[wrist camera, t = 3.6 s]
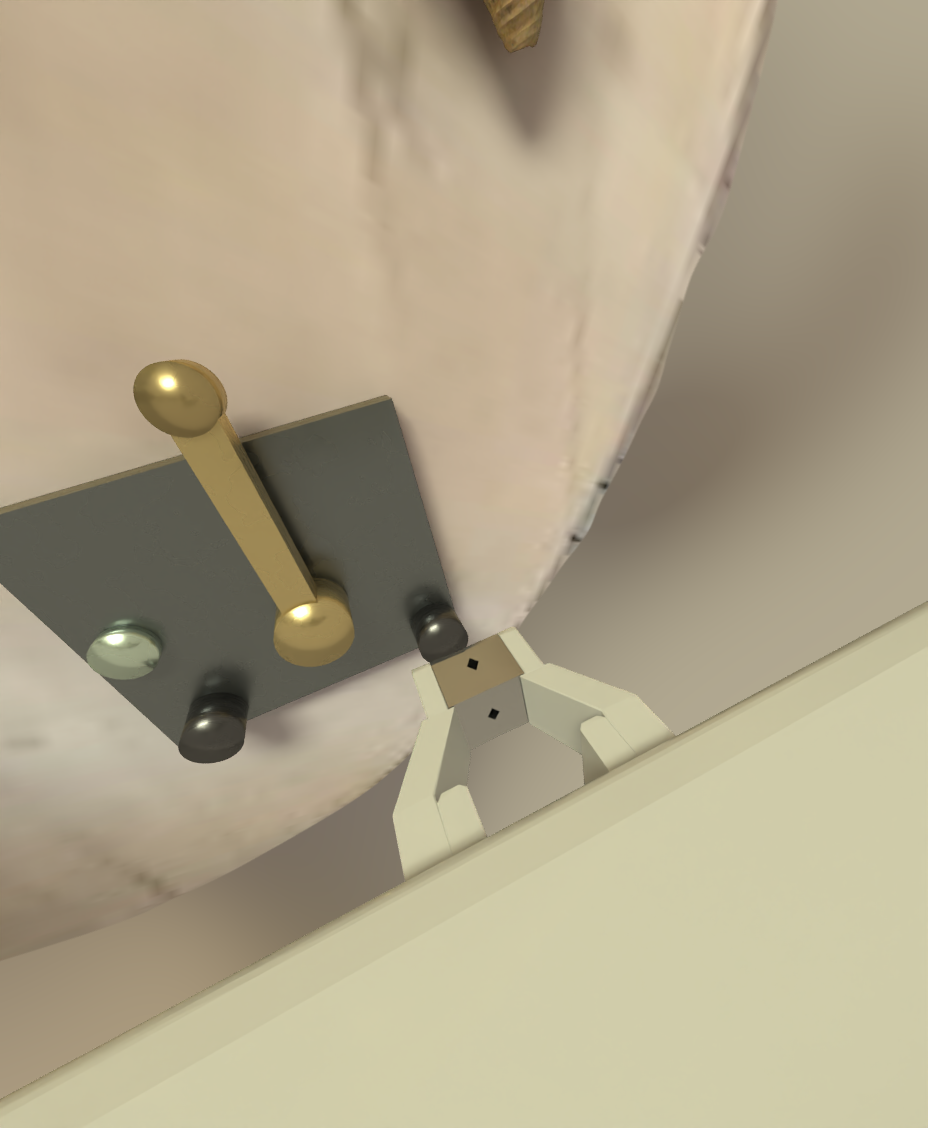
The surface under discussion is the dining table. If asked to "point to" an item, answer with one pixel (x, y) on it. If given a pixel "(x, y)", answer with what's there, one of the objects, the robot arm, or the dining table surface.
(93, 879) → the dining table surface
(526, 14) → the seashell
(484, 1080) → the robot arm
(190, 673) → the base
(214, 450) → the lever
